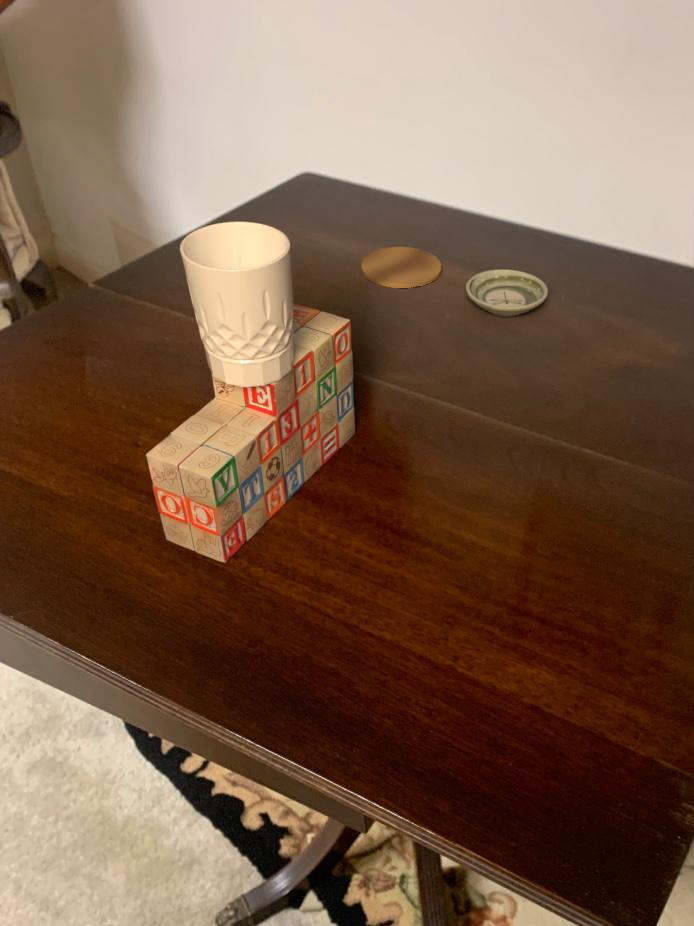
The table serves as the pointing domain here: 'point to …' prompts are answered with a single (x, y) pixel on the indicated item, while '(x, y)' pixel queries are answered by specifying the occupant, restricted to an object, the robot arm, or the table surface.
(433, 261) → the cork coaster
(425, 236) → the table surface
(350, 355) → the stack of blocks
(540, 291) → the saucer
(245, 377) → the white cup
